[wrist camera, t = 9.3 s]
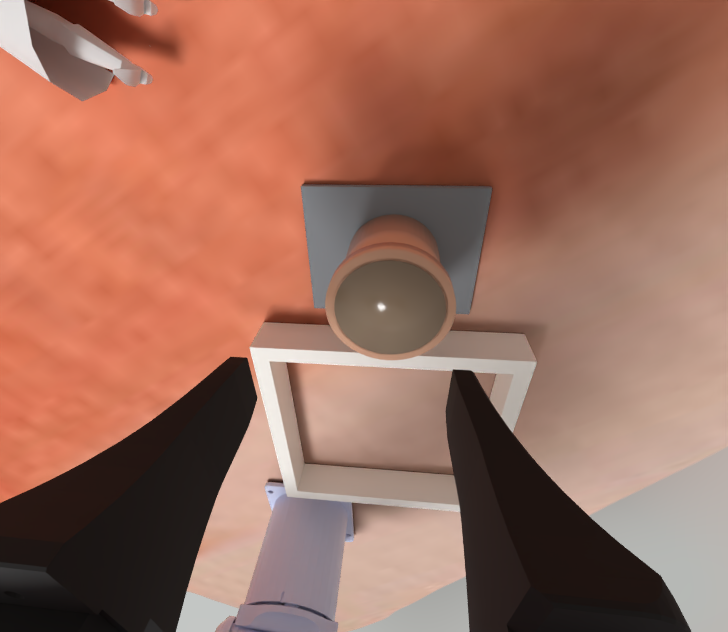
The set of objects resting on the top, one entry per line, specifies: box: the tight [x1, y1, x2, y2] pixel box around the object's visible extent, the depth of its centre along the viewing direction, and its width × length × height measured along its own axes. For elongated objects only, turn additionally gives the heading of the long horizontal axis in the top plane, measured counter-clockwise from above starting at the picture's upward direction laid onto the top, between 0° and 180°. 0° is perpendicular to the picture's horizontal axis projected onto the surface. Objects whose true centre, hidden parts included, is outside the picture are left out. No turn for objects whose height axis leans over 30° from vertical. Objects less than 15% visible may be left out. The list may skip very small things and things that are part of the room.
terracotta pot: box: [325, 214, 456, 360], centre depth 17 cm, size 5×5×5 cm
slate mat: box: [301, 184, 493, 314], centre depth 19 cm, size 7×9×1 cm
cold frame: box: [250, 322, 537, 512], centre depth 25 cm, size 16×16×2 cm
